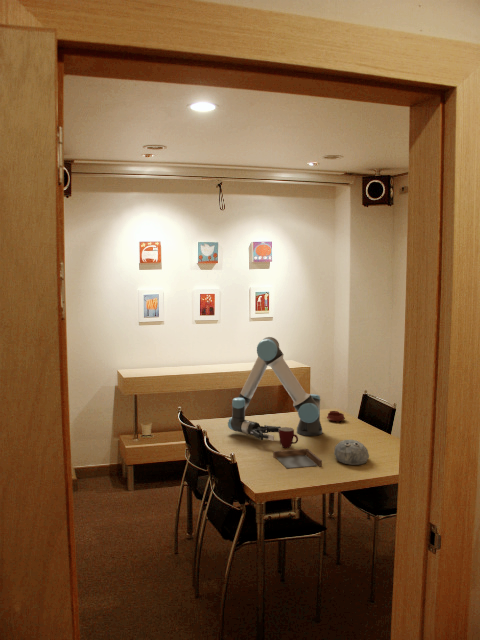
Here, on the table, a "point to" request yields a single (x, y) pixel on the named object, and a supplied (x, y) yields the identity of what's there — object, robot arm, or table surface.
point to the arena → (297, 458)
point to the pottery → (335, 416)
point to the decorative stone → (351, 452)
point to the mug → (287, 436)
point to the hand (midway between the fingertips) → (281, 435)
